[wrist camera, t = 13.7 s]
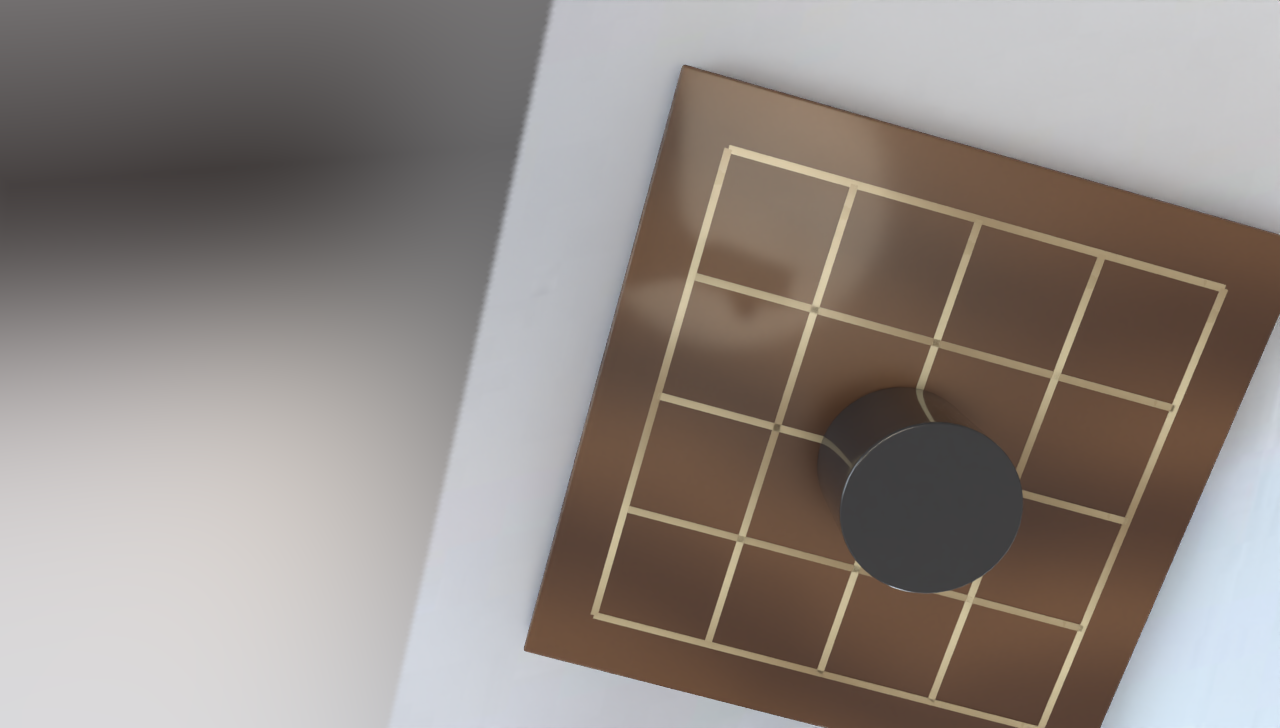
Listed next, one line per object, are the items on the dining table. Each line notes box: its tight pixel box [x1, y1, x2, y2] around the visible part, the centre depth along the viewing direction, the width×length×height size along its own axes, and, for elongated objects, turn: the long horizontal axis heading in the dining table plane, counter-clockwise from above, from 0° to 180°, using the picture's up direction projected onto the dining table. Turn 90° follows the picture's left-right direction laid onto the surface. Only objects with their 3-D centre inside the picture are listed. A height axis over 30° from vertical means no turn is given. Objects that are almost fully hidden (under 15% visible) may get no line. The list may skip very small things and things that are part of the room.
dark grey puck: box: [817, 387, 1023, 594], centre depth 29 cm, size 5×5×4 cm
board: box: [524, 65, 1280, 728], centre depth 32 cm, size 20×20×2 cm
